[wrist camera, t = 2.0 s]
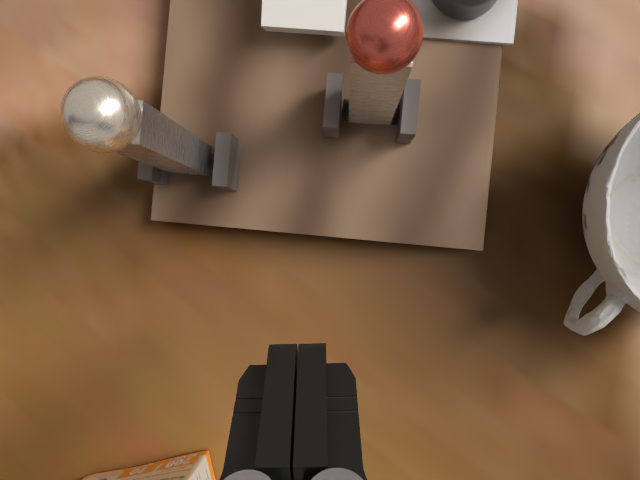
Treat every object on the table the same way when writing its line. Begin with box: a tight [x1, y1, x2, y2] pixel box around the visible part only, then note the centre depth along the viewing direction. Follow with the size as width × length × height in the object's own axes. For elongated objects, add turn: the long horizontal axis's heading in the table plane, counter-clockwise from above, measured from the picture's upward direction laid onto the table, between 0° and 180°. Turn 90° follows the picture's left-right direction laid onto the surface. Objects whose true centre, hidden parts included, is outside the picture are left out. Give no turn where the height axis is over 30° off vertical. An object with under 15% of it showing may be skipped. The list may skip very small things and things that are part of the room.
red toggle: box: [342, 0, 424, 126], centre depth 22 cm, size 3×3×12 cm
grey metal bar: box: [60, 76, 215, 176], centre depth 22 cm, size 3×3×12 cm
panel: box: [137, 0, 518, 251], centre depth 28 cm, size 20×18×5 cm
